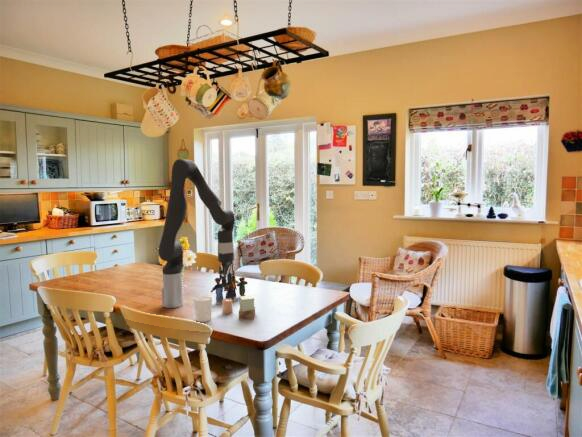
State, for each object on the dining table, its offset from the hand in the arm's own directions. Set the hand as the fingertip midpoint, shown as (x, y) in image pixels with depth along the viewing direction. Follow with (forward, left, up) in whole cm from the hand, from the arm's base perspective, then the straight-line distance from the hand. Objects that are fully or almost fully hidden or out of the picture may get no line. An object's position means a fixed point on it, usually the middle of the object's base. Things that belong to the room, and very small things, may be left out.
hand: (227, 284), depth 200 cm
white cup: (-8, -11, -14) cm, 20 cm away
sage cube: (+11, -5, -10) cm, 16 cm away
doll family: (-5, +20, -14) cm, 25 cm away
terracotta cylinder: (0, 0, -14) cm, 14 cm away
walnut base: (+11, -5, -14) cm, 19 cm away
